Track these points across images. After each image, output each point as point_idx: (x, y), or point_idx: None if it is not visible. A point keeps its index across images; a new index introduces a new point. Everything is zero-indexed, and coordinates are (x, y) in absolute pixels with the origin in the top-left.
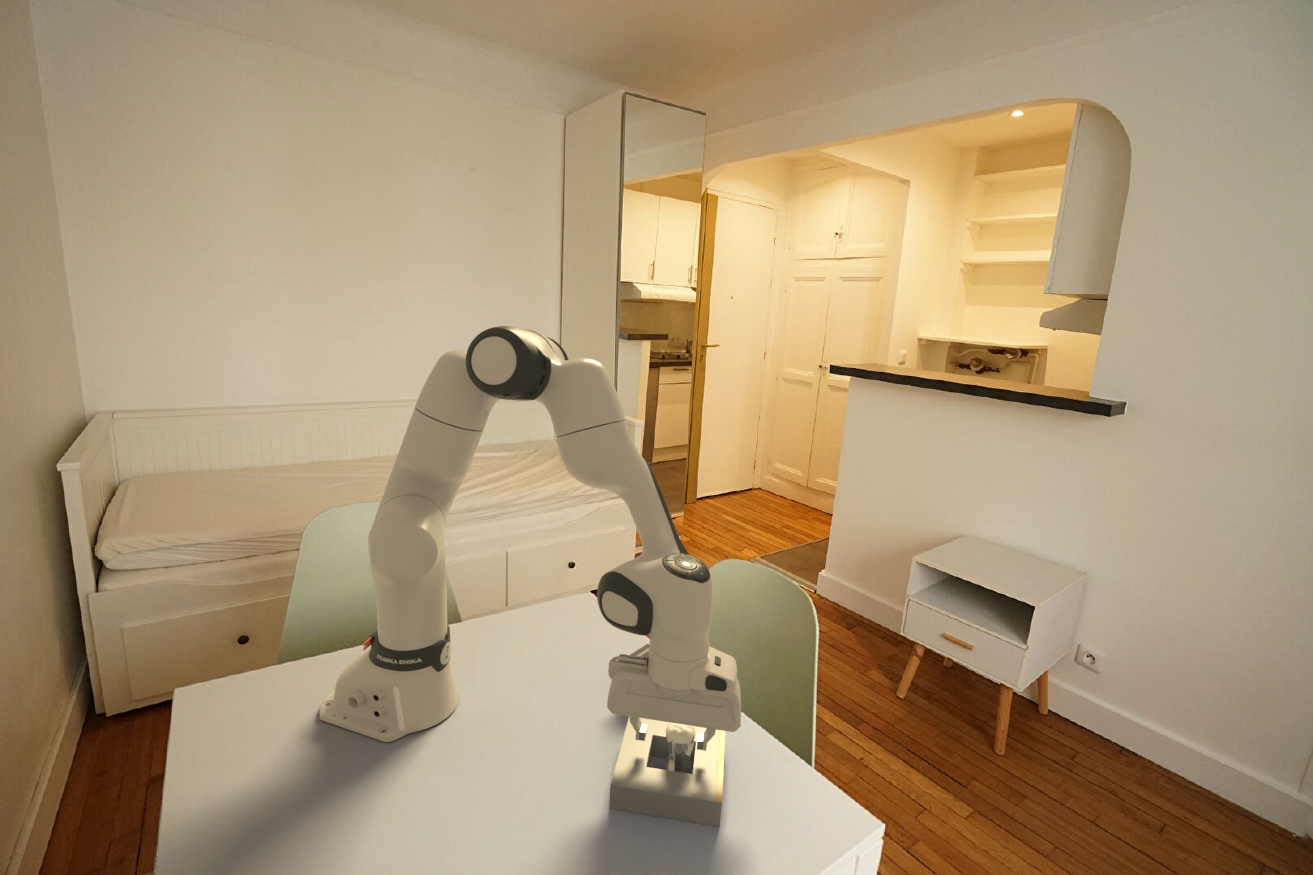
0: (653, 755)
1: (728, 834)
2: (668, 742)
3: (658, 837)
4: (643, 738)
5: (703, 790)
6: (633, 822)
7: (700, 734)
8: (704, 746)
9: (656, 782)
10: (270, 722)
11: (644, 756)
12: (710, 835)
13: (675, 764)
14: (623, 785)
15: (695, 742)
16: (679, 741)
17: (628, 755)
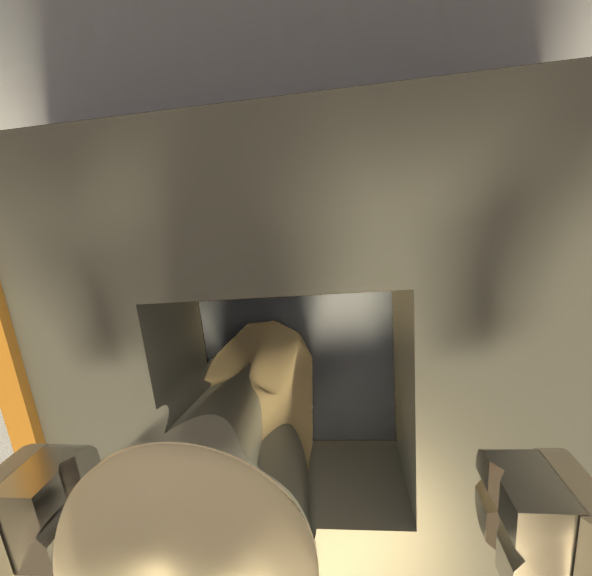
0: (387, 443)
1: (11, 126)
2: (279, 452)
3: (275, 6)
4: (502, 459)
5: (48, 200)
6: (407, 54)
7: (36, 562)
8: (12, 464)
9: (323, 178)
10: None
11: (438, 368)
12: (72, 97)
13: (248, 356)
14: (547, 79)
15: None
16: (155, 456)
17: (545, 354)
